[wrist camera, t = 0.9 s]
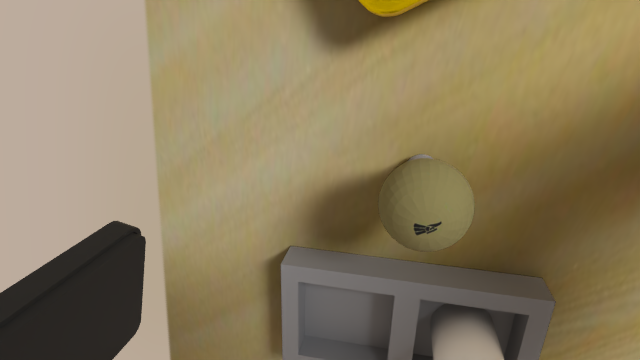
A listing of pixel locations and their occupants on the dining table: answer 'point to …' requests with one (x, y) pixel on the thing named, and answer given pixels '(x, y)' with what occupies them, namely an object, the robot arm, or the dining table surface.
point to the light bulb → (426, 204)
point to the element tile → (390, 6)
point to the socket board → (398, 306)
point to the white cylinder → (464, 334)
